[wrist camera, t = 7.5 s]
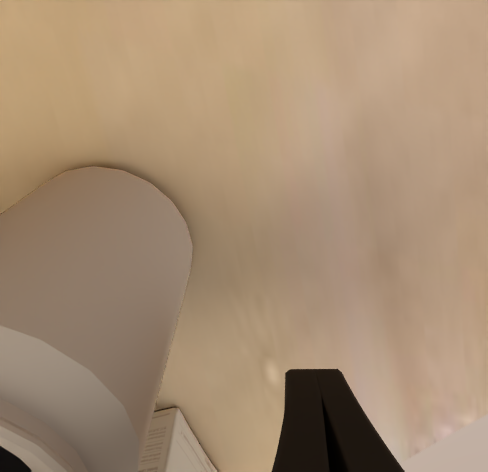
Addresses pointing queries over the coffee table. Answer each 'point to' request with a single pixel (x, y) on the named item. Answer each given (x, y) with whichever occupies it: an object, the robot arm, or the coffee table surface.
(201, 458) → the white packaging box
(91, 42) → the coffee table surface
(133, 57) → the coffee table surface
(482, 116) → the coffee table surface
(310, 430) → the robot arm
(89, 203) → the can
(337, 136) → the coffee table surface
